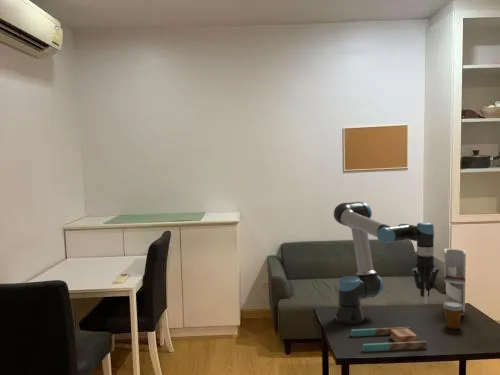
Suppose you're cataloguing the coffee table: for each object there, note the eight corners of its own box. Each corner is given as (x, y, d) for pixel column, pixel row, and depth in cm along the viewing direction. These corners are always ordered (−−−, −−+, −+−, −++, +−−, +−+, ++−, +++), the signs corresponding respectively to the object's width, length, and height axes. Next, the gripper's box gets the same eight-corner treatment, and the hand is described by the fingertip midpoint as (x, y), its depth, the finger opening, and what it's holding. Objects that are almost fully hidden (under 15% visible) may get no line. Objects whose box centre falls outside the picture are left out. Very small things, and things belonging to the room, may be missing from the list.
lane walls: (389, 350, 204) (389, 344, 204) (374, 334, 223) (374, 328, 222) (426, 348, 205) (426, 342, 205) (408, 332, 224) (409, 326, 224)
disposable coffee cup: (461, 331, 225) (461, 308, 224) (441, 327, 230) (441, 305, 229) (463, 325, 233) (464, 302, 232) (444, 321, 238) (444, 300, 237)
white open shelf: (443, 307, 261) (444, 248, 259) (463, 309, 257) (464, 249, 255) (444, 313, 251) (444, 252, 249) (464, 315, 247) (465, 253, 244)
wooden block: (398, 345, 209) (398, 336, 209) (390, 338, 218) (390, 329, 218) (416, 344, 210) (416, 335, 210) (407, 337, 219) (408, 328, 219)
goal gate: (363, 351, 203) (363, 345, 203) (351, 335, 222) (351, 329, 222) (389, 350, 204) (389, 344, 204) (374, 334, 223) (374, 328, 222)
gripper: (415, 257, 208) (415, 306, 209) (442, 256, 209) (441, 304, 210) (408, 253, 215) (408, 301, 217) (434, 252, 216) (434, 300, 218)
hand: (424, 303), depth 214 cm, fingers closed
